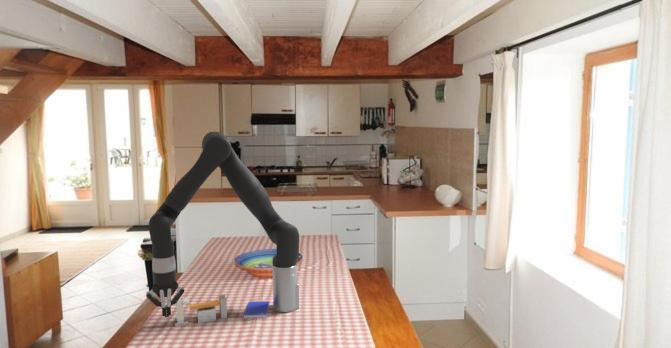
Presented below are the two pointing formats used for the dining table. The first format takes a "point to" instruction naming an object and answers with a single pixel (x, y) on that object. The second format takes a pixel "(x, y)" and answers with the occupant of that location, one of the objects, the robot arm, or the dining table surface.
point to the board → (222, 311)
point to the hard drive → (256, 309)
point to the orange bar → (205, 304)
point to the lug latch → (181, 309)
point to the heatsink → (206, 314)
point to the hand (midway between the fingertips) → (166, 316)
